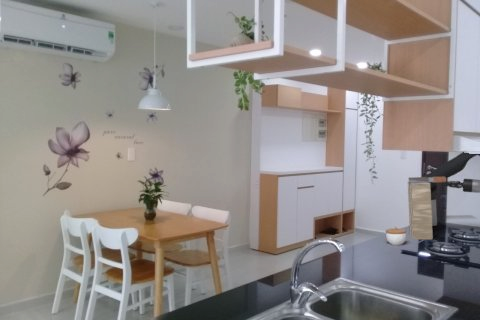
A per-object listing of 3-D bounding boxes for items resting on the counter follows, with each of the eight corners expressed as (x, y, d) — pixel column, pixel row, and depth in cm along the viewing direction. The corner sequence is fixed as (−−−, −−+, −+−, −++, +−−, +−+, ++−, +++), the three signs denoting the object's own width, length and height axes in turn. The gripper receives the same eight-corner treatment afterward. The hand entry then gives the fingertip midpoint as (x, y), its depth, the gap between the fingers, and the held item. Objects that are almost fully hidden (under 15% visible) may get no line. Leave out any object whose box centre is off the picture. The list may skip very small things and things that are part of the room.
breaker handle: (410, 182, 252) (410, 177, 252) (444, 181, 248) (444, 176, 248) (411, 183, 249) (411, 178, 249) (446, 182, 244) (445, 176, 244)
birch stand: (410, 234, 258) (407, 177, 258) (427, 234, 256) (425, 176, 256) (414, 239, 244) (411, 178, 243) (432, 239, 241) (430, 178, 241)
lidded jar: (392, 241, 242) (392, 224, 242) (410, 243, 234) (409, 226, 233) (382, 244, 235) (381, 227, 235) (400, 247, 227) (399, 229, 227)
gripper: (472, 178, 247) (441, 176, 254) (474, 179, 234) (441, 177, 241) (471, 191, 247) (440, 188, 254) (473, 193, 235) (440, 190, 241)
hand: (441, 183), depth 248 cm, fingers open, 8 cm apart
